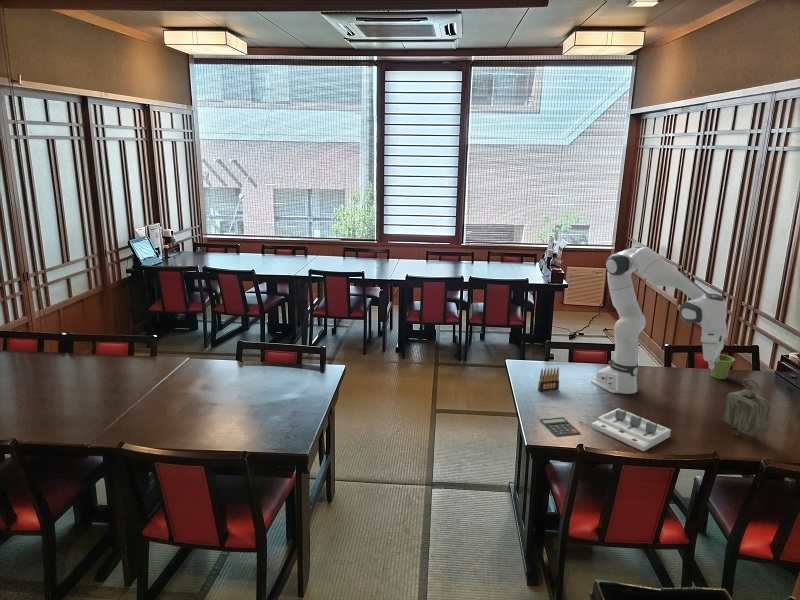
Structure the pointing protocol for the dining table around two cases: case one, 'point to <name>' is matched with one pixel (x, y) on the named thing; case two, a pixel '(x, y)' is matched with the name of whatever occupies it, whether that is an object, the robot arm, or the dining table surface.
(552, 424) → the calculator
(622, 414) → the tab
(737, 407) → the tabletop clock
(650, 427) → the tab
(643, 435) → the switch bank
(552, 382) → the ammunition clip
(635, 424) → the tab
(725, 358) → the plant pot
